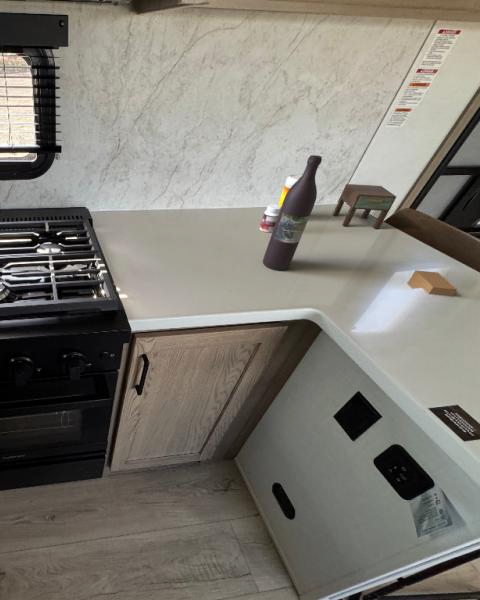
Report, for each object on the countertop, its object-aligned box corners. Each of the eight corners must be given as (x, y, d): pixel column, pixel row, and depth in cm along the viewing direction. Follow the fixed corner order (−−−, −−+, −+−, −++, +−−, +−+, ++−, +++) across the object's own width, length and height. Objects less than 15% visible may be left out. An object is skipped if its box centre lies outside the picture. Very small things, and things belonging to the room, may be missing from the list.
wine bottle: (259, 266, 100) (297, 157, 82) (265, 256, 104) (301, 151, 86) (286, 273, 96) (331, 162, 79) (290, 263, 101) (334, 155, 83)
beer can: (285, 222, 124) (300, 180, 115) (270, 216, 128) (284, 175, 120) (295, 219, 126) (311, 177, 118) (280, 213, 131) (295, 173, 122)
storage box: (447, 302, 85) (457, 289, 82) (423, 300, 86) (433, 287, 83) (428, 285, 91) (437, 272, 89) (406, 283, 92) (415, 270, 90)
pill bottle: (260, 225, 122) (267, 202, 117) (275, 228, 120) (283, 205, 115) (258, 230, 119) (265, 207, 114) (273, 233, 117) (281, 210, 112)
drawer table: (379, 230, 118) (397, 197, 112) (344, 227, 120) (359, 194, 114) (365, 216, 127) (381, 185, 121) (332, 214, 130) (346, 183, 123)
